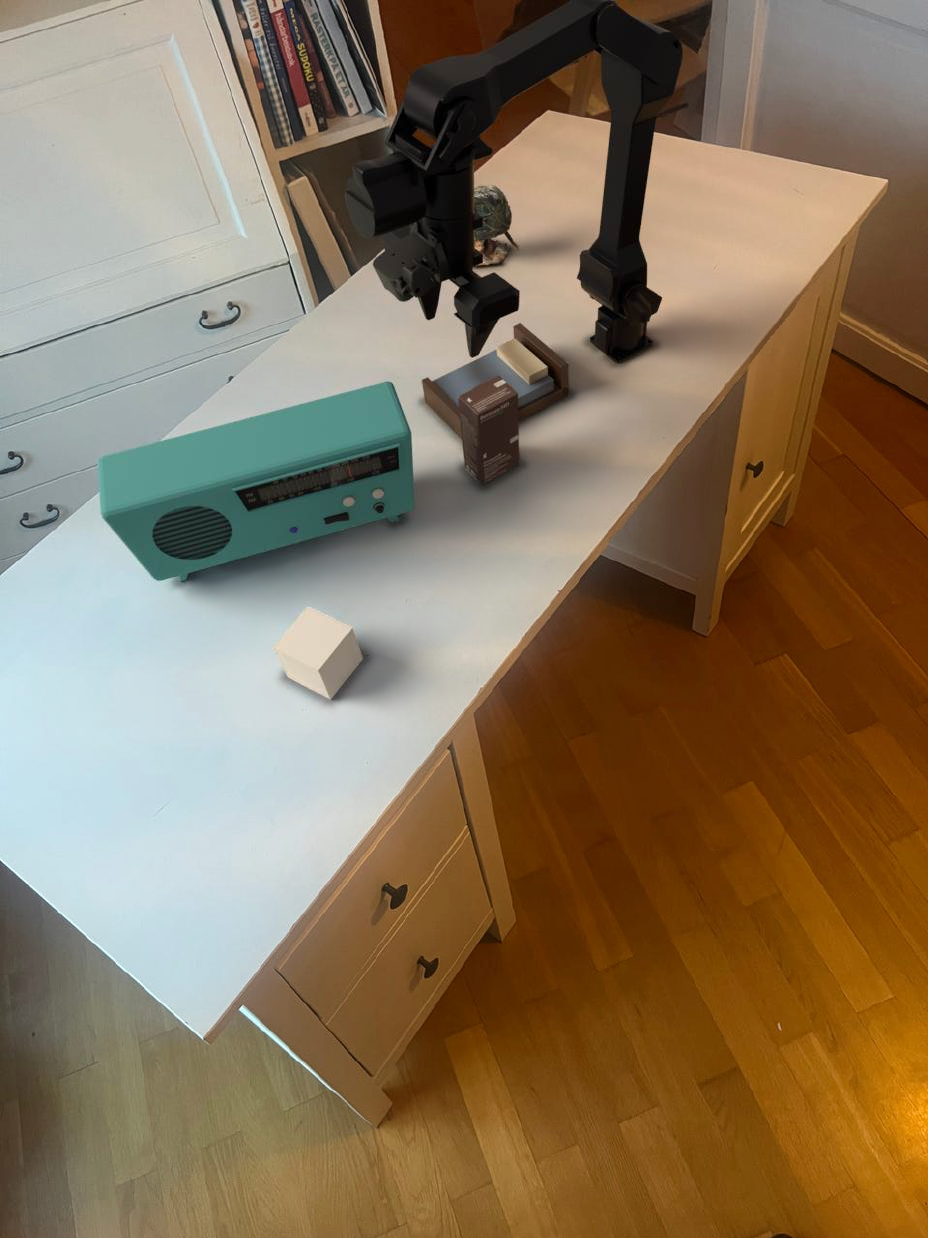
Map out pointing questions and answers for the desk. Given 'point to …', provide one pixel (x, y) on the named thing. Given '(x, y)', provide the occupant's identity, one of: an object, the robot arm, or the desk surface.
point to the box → (489, 429)
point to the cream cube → (318, 652)
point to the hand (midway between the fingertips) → (451, 336)
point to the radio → (260, 482)
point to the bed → (535, 349)
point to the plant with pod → (492, 223)
